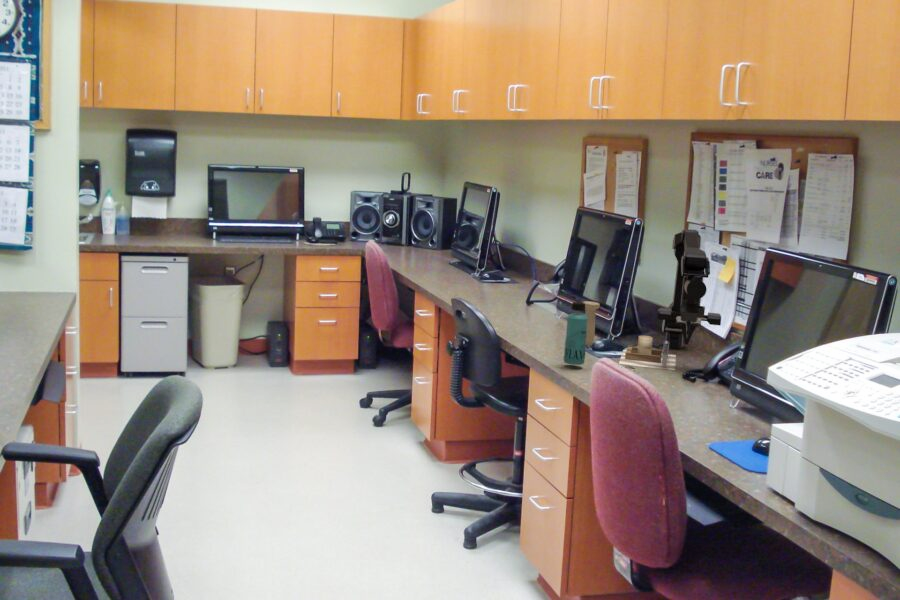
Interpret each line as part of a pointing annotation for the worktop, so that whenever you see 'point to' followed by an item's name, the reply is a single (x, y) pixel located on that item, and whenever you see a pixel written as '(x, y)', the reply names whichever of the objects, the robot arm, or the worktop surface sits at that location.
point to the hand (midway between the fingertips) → (686, 344)
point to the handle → (590, 320)
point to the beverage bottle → (576, 336)
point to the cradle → (646, 359)
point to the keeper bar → (665, 352)
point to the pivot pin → (645, 345)
